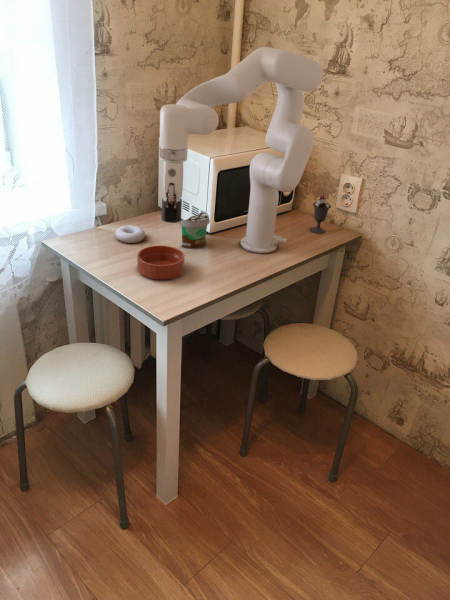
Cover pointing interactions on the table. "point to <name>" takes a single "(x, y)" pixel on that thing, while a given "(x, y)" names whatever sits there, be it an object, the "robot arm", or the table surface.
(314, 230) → the sundae
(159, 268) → the bowl
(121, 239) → the donut
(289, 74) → the robot arm
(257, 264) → the table surface
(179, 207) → the sushi roll
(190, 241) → the food container
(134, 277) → the table surface
